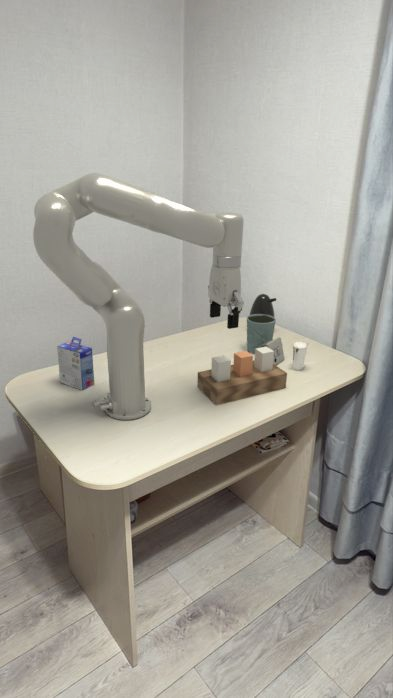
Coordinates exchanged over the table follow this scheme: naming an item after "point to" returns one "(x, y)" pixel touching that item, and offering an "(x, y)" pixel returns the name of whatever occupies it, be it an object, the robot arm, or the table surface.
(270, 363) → the grey peg right
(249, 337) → the teal plant pot
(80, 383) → the ink cartridge box
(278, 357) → the electrical switch
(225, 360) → the grey peg left
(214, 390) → the socket board
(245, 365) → the terracotta peg
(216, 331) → the table surface
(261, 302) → the pump dispenser
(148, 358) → the table surface
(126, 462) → the table surface
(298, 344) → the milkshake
